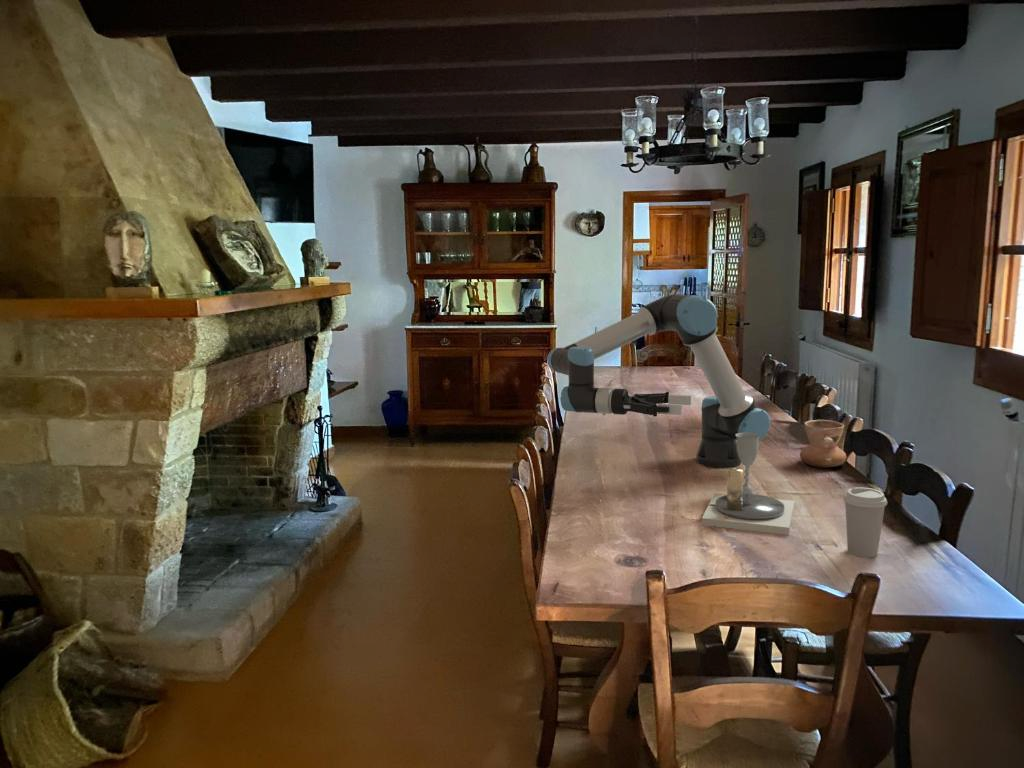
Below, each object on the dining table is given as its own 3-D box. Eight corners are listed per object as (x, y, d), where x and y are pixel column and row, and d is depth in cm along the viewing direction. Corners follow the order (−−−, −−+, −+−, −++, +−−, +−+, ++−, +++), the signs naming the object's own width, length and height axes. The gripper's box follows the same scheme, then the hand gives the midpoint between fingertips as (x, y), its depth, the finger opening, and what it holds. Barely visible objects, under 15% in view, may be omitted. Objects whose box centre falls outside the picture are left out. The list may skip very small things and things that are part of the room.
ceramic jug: (850, 472, 243) (852, 430, 241) (803, 471, 246) (804, 429, 244) (840, 457, 260) (841, 417, 258) (795, 456, 264) (797, 417, 261)
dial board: (714, 499, 221) (714, 492, 221) (794, 507, 213) (794, 499, 212) (701, 525, 202) (701, 517, 201) (788, 535, 193) (789, 526, 192)
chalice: (742, 498, 222) (743, 438, 219) (729, 491, 228) (730, 433, 225) (763, 495, 224) (765, 436, 221) (750, 488, 230) (752, 431, 227)
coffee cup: (871, 543, 185) (875, 485, 183) (892, 559, 176) (896, 498, 173) (833, 545, 185) (836, 487, 182) (852, 561, 176) (855, 499, 173)
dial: (701, 506, 209) (702, 464, 207) (745, 493, 219) (746, 453, 217) (753, 524, 194) (754, 479, 192) (798, 510, 204) (799, 466, 202)
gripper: (624, 405, 231) (694, 409, 223) (600, 423, 209) (677, 427, 200) (624, 381, 230) (694, 384, 221) (600, 396, 207) (677, 400, 199)
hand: (686, 404), depth 211 cm, fingers open, 13 cm apart
